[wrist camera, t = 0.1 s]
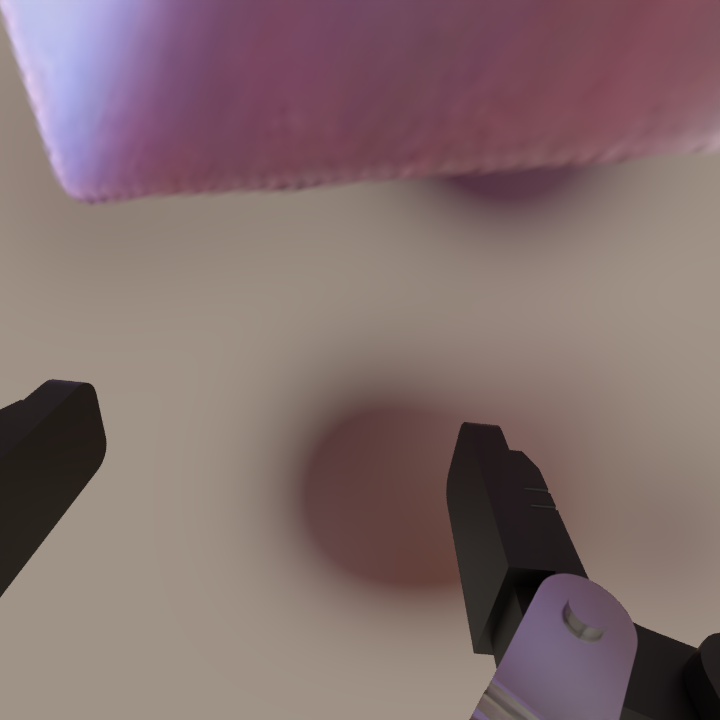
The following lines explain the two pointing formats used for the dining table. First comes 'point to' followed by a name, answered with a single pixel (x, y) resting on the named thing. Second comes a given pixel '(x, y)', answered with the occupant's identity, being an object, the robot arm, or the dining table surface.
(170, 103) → the dining table surface
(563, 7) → the dining table surface
